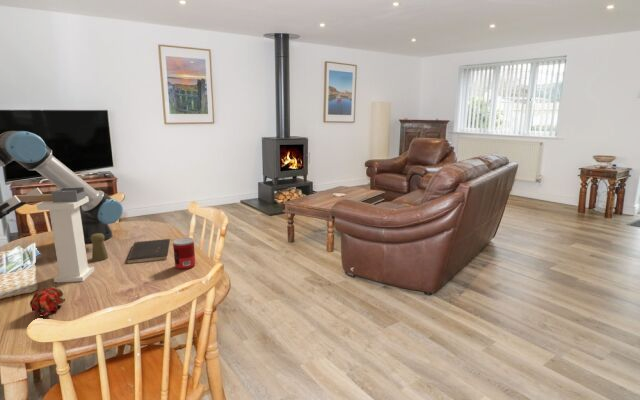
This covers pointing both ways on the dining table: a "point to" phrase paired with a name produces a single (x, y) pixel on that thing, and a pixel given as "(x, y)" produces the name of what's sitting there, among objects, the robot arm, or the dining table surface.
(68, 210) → the stand
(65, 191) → the brown and grey bar
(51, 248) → the dining table surface
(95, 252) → the cork
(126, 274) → the dining table surface
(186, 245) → the canned food
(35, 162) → the robot arm
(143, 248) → the hardcover book
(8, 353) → the dining table surface
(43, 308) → the dragon fruit
